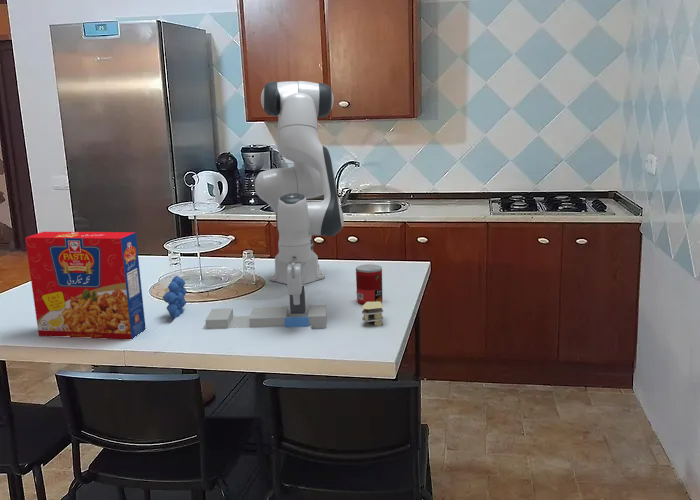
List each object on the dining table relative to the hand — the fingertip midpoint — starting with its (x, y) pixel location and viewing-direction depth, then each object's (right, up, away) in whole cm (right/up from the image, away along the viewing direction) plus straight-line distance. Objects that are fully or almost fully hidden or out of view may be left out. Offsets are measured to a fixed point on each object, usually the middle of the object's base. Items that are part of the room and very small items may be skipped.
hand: (297, 301), depth 194 cm
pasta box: (-57, -9, -1) cm, 58 cm away
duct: (-9, -7, +1) cm, 11 cm away
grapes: (-37, -6, +11) cm, 39 cm away
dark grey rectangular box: (0, -3, +1) cm, 3 cm away
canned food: (+21, -2, +19) cm, 28 cm away
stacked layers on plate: (+21, -7, 0) cm, 22 cm away
